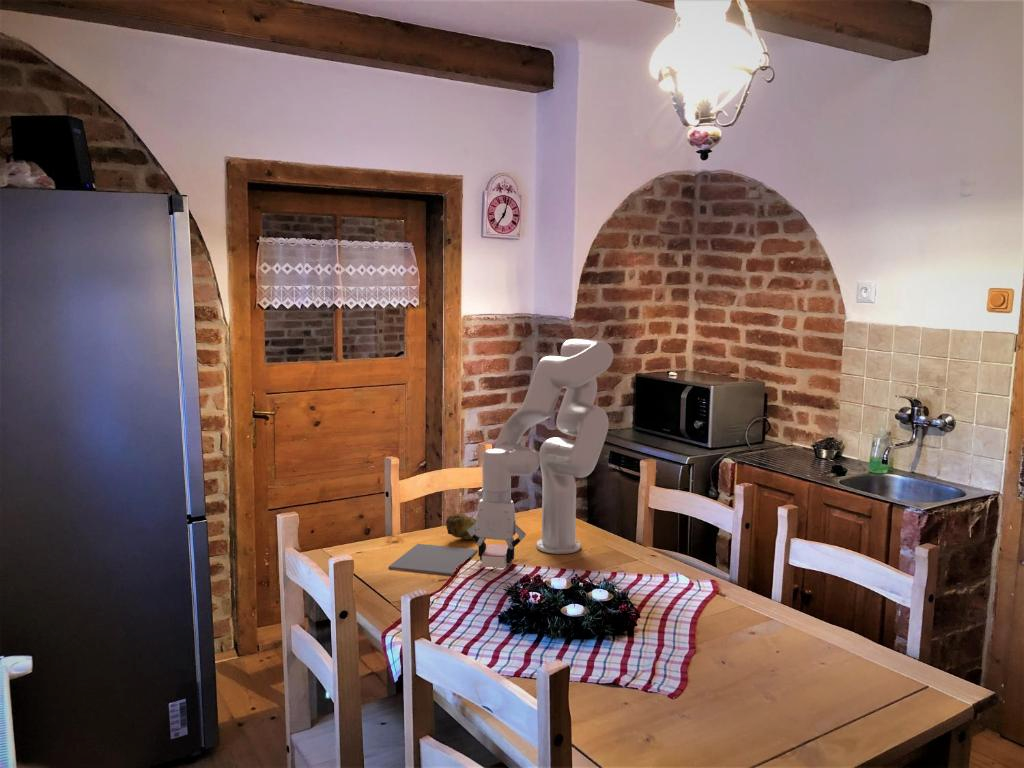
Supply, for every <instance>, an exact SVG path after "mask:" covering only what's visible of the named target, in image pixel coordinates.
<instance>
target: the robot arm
mask: <svg viewBox="0 0 1024 768" xmlns="http://www.w3.org/2000/svg"><path fill="white" fill-rule="evenodd" d="M613 360H614V350H613V349H612V346H611V345H610V344H609V343H607V342H605V341H604V340H598V339H597V340H595V339H584V338H571V339H567V340H566V341H565V342H563V343H562V345H561V348H560V356H557V355H548V356H544V357H542V358H541V359H540V360H539V361H538V363H537V364H536V365H537V366H536V368H535V370H534V373H533V375H532V379H531V382H530V384H529V386H528V389H527V392H526V395H525V398H524V400H523V403H522V405H521V406H520V407H519V408H518V409H517V410H516V411H515V412H514V413H513V414H512V415H511V416H510V417H509V418H508V419H507V420H506V422H505V423H504V424H503V425H502V428H501V429H500V431H499V434H498V436H497V438H496V441H495V445H494V448H488V449H486V450H485V451H483V453H482V488H481V489H477V491H476V492H477V493H476V495H478V496H480V497H481V499H480V500H479V501H478V506H477V514H476V520H477V521H476V523H475V524H474V525H473V526H472V527H470V528H469V529H468V530H467V531H468V533H469V534H470V535H471V536H472V538H473V539H472V540H473V541H474V542H475V543H476V545H477V546H478V547H477V548H478V549H477V553H478V557H479V561H480V562H482V554H483V553H484V551H485V550H486V548H487V544H486V543H485V541H486V539H488V540H495V541H496V540H497V541H498V540H499V541H505V543H506V545H508V549H507V563H508V564H510V563H512V561H513V560H515V547H516V546H517V545H518V544H519V543H520V542H521V541H522V540H523V539H524V538H525V537H526V535H527V533H525V531H524V530H523V529H522V528H520V526H518V524H517V522H516V521H517V520H516V511H515V504H514V501H513V500H512V497H511V496H512V495H511V493H512V491H511V489H512V483H511V482H512V479H511V478H512V477H513V476H529V475H531V474H533V473H535V472H536V471H537V470H538V469H539V467H540V469H541V479H542V480H541V481H542V482H541V483H542V487H541V488H542V495H541V496H542V497H541V498H542V499H541V501H542V502H541V503H542V504H541V539H538V540H537V542H536V545H535V546H536V548H537V549H538V550H539V551H541V552H544V553H547V554H554V555H555V554H556V555H563V554H565V555H566V554H573V553H576V552H578V551H580V550H581V547H582V546H581V545H582V544H581V542H580V541H579V540H576V527H577V526H576V520H577V519H576V517H577V515H576V513H577V512H576V510H577V505H576V504H577V484H576V480H575V478H586V477H588V476H589V475H590V474H592V472H594V470H595V467H596V465H597V464H598V461H599V458H600V455H601V454H602V453H601V452H602V449H603V447H604V444H605V440H606V438H607V434H608V431H609V425H610V424H609V423H610V422H609V417H608V414H607V412H606V411H605V410H604V408H602V407H600V406H598V405H595V403H594V402H595V399H596V398H597V397H596V396H597V392H598V381H597V377H599V376H600V375H601V374H602V373H604V372H606V371H607V370H608V369H609V368H610V366H611V365H612V363H613ZM562 389H566V390H565V392H564V396H563V399H562V401H561V405H560V407H559V410H558V412H557V417H556V422H555V424H556V428H557V429H558V431H560V432H561V433H563V434H565V435H567V436H572V437H576V438H575V440H572V439H570V438H569V439H568V438H564V437H557V436H556V437H549V438H548V439H546V440H545V441H544V442H542V444H541V446H540V448H539V453H538V452H537V451H536V450H534V449H533V448H531V447H528V446H523V445H520V444H519V443H520V440H521V439H522V437H523V435H524V434H525V433H526V431H528V430H529V429H530V428H531V427H533V426H535V425H537V424H539V423H541V422H544V421H546V420H548V419H550V418H551V417H552V415H553V413H554V410H555V408H556V404H557V402H558V400H559V397H560V393H561V391H562ZM475 529H476V532H475ZM516 534H517V535H518V536H517V538H516V539H514V536H515V535H516ZM508 564H507V565H508Z"/></svg>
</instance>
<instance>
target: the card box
mask: <svg viewBox="0 0 1024 768" xmlns="http://www.w3.org/2000/svg"><path fill="white" fill-rule="evenodd" d="M507 549H508V544H496V543H495V544H493V543H492V544H491V543H490V544H488V545H487V546H486V550H485V551H484V553H483V554H482V561H481V568H482V567H493V568H495V567H499V568H504V567H505V566H506V564H507ZM507 565H508V564H507ZM506 567H507V566H506Z"/></svg>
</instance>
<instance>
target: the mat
mask: <svg viewBox="0 0 1024 768" xmlns="http://www.w3.org/2000/svg"><path fill="white" fill-rule="evenodd" d="M476 552H477V553H478V549H477V548H467V547H455V546H444V545H436V544H435V545H434V544H424V543H416V544H415V545H414V546H413V547H411V548H410V549H409V550H408V551H406V552H405V553H403V555H401V556H400V557H398V558H397V559H396V560H395V561H393V562H392V563H391V564H390V565H388V569H389V570H396V571H397V570H398V571H407V572H414V573H415V572H416V573H424V572H426V573H425V574H433V573H434V574H435V575H436V574H437V575H443V574H444V576H452V574H453V573H454V572H455V571H456V568H458V566H459V565H460V564H463V563H464V562H465V561H466V560H467V559H469V558H470V557H471V558H473V557H474V556H475V555H476V554H477V553H476ZM475 553H476V554H475ZM471 558H470V559H471ZM470 559H469V560H470ZM463 561H464V562H463ZM434 574H433V575H434Z"/></svg>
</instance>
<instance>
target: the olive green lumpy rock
mask: <svg viewBox="0 0 1024 768" xmlns="http://www.w3.org/2000/svg"><path fill="white" fill-rule="evenodd" d="M476 521H477V518H472V517H469V516H467V515H466V514H463V513H455V514H454V513H453V514H451V515H450V516H448V517H447V518H446V520H445V526H446V529H447V534H448V535H451V536H452V537H454V538H459V539H460V538H461V539H462V540H469V539H470V540H473V538H472V536H471V535H470V534H469V533H468V531H467V530H468V529H469V528H470V527H472V526H473V525H474V524H475V523H476ZM475 532H476V529H475Z"/></svg>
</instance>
